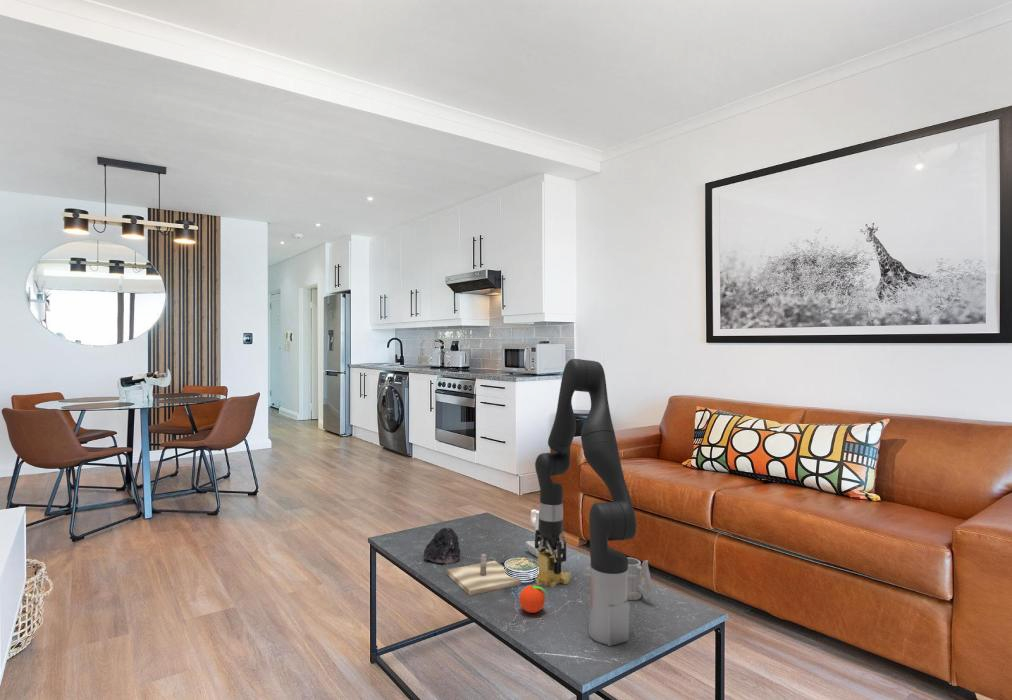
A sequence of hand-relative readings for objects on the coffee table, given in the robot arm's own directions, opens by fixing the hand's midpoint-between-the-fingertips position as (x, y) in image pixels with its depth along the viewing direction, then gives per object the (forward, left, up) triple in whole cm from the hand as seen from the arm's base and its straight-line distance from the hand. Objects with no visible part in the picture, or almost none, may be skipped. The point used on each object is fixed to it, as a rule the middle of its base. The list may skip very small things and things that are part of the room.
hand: (549, 568), depth 177 cm
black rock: (+30, +23, -3) cm, 38 cm away
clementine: (-17, +16, -3) cm, 24 cm away
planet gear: (0, 0, -3) cm, 3 cm away
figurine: (+19, -8, -3) cm, 21 cm away
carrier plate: (+8, +19, -3) cm, 21 cm away
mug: (-22, -15, -3) cm, 27 cm away
